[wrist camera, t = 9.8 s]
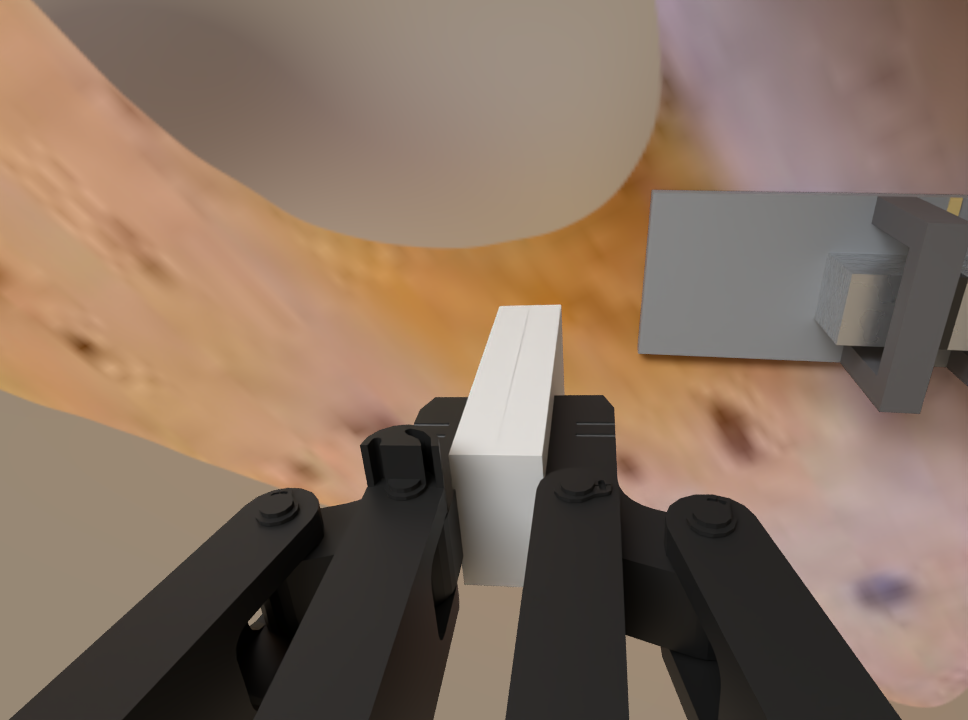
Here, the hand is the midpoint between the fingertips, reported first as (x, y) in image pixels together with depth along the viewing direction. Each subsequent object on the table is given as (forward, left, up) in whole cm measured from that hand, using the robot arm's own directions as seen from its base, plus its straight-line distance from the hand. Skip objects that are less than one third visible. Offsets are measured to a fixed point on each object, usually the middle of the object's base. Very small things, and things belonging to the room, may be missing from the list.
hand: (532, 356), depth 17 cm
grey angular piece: (+6, +16, -26) cm, 31 cm away
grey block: (+6, +20, -25) cm, 33 cm away
